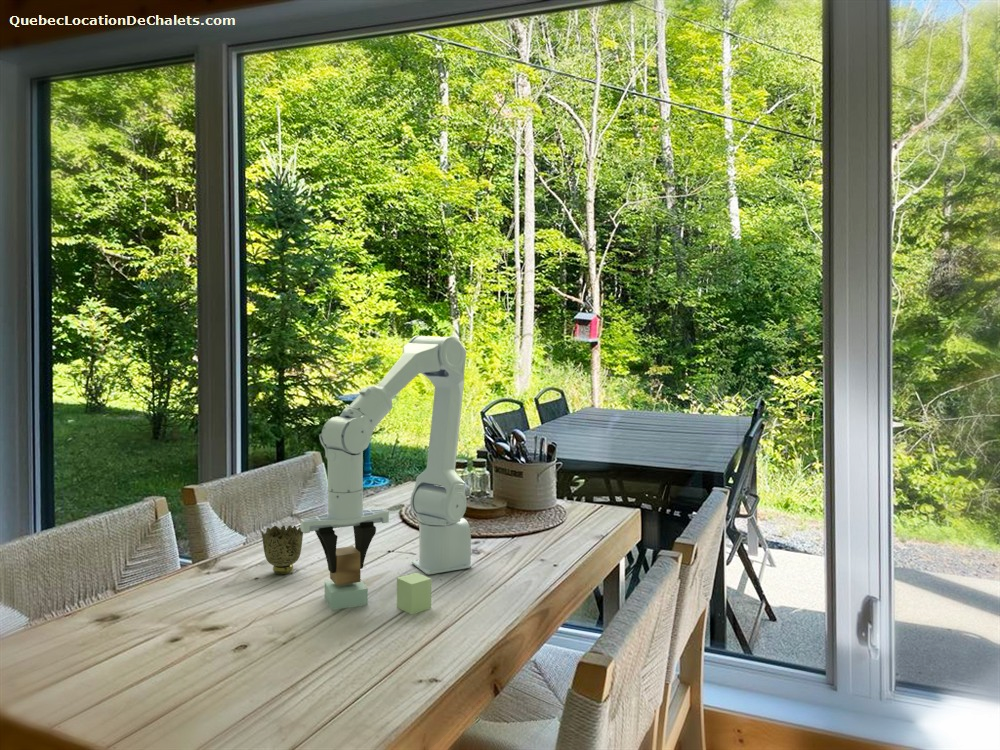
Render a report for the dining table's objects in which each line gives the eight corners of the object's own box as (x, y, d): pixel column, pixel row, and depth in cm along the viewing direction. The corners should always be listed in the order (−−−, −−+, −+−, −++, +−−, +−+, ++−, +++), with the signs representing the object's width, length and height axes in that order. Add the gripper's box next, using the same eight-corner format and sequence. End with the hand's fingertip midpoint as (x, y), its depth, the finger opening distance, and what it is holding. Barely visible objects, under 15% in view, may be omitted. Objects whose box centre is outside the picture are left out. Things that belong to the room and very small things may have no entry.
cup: (292, 580, 137) (291, 537, 137) (254, 577, 139) (254, 534, 138) (310, 567, 145) (310, 526, 144) (274, 564, 146) (274, 523, 145)
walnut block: (352, 574, 131) (352, 546, 130) (360, 581, 127) (360, 552, 127) (330, 578, 129) (329, 549, 128) (337, 585, 125) (336, 555, 125)
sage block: (416, 601, 128) (416, 572, 128) (431, 608, 125) (431, 578, 125) (396, 607, 125) (397, 577, 125) (411, 614, 123) (411, 584, 122)
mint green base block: (359, 594, 132) (359, 577, 132) (367, 606, 126) (367, 588, 126) (324, 598, 130) (324, 581, 129) (331, 611, 124) (331, 593, 124)
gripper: (378, 480, 134) (378, 556, 135) (295, 488, 127) (296, 568, 128) (393, 488, 127) (393, 567, 128) (306, 497, 120) (307, 581, 121)
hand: (345, 569), depth 128 cm, fingers closed on walnut block, 4 cm apart
